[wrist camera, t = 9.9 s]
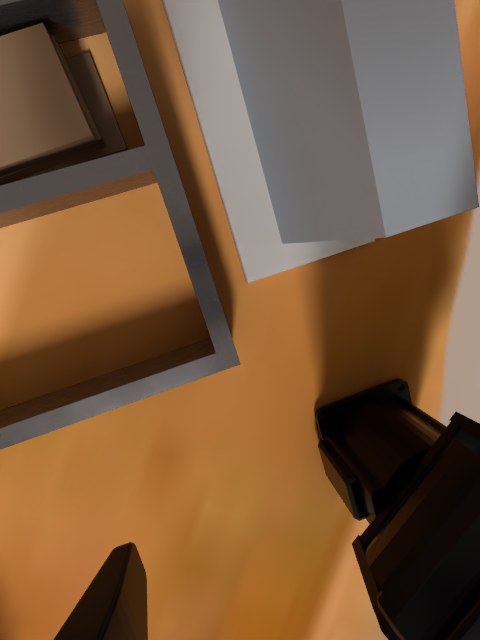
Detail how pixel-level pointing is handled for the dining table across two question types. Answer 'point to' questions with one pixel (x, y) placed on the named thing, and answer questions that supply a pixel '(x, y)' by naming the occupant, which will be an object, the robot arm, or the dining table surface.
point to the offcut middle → (66, 157)
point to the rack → (99, 182)
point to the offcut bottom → (93, 112)
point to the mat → (235, 143)
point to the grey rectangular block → (355, 113)
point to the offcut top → (37, 102)
